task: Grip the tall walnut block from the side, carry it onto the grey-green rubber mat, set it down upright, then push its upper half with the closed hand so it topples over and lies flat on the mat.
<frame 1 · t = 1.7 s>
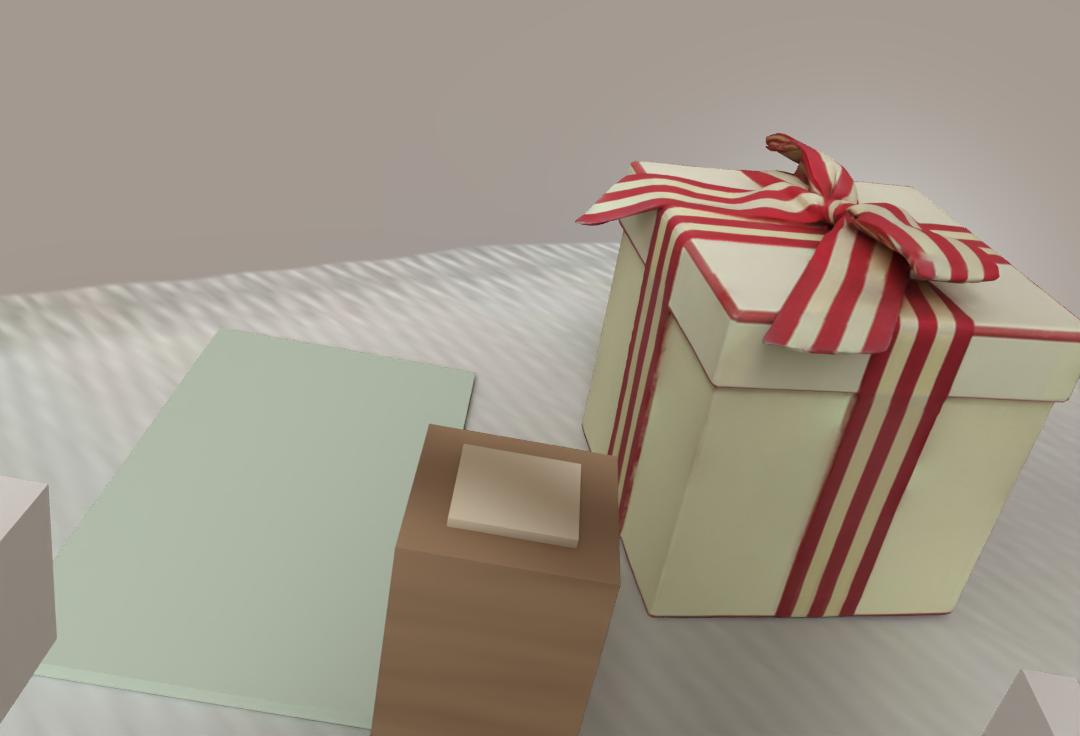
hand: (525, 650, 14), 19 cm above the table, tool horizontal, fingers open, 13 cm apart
gift box: (725, 527, 49), on the table
mat: (288, 490, 45), on the table
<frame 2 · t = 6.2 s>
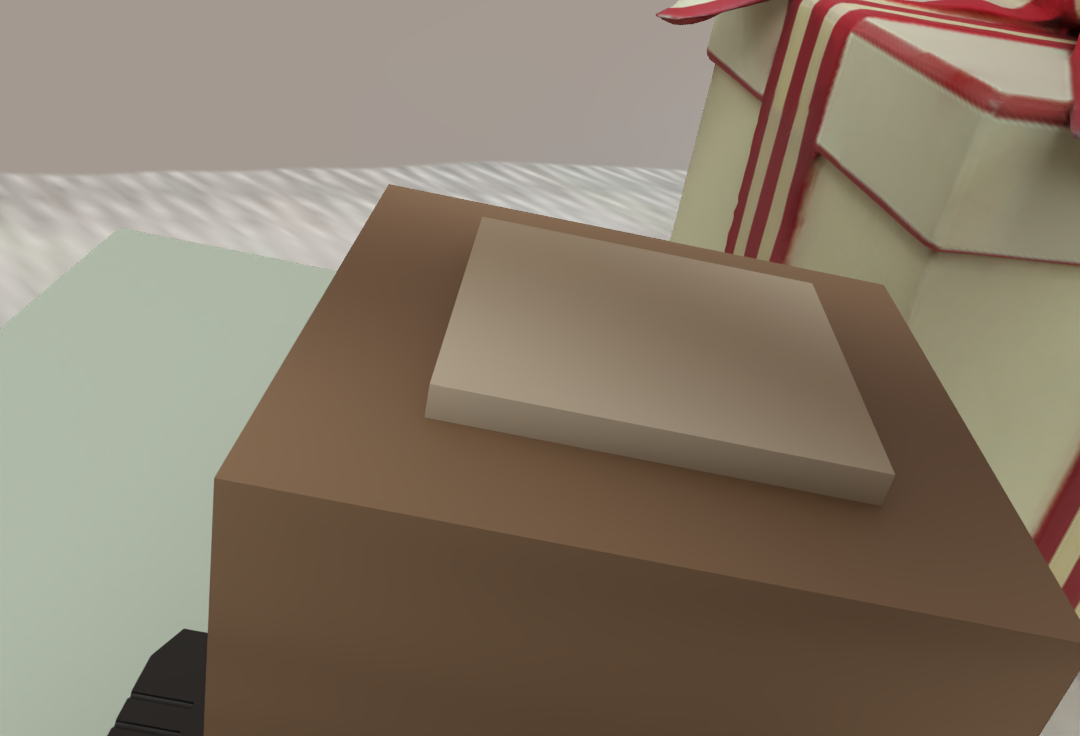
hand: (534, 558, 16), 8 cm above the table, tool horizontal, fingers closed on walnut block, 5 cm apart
gift box: (860, 524, 32), on the table
mat: (187, 450, 28), on the table
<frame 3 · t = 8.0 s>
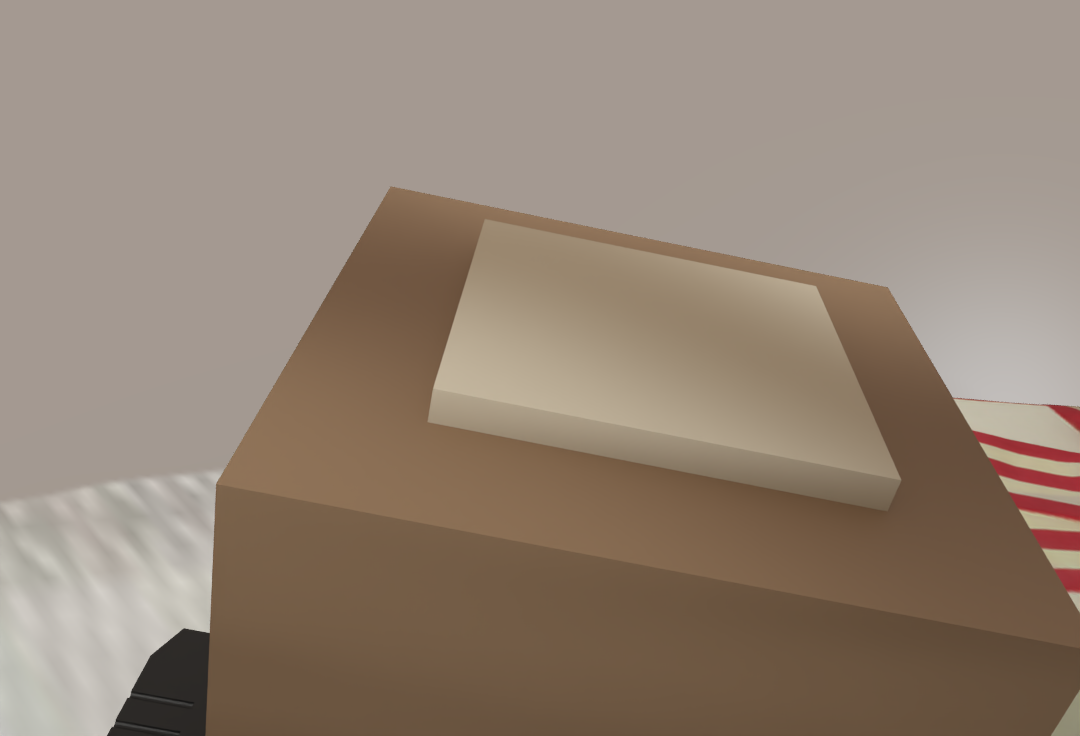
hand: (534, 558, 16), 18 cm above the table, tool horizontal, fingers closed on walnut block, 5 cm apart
when the fingers open (9 cm above the table, at t = 10.2 s): walnut block drops 1 cm, resting on mat.
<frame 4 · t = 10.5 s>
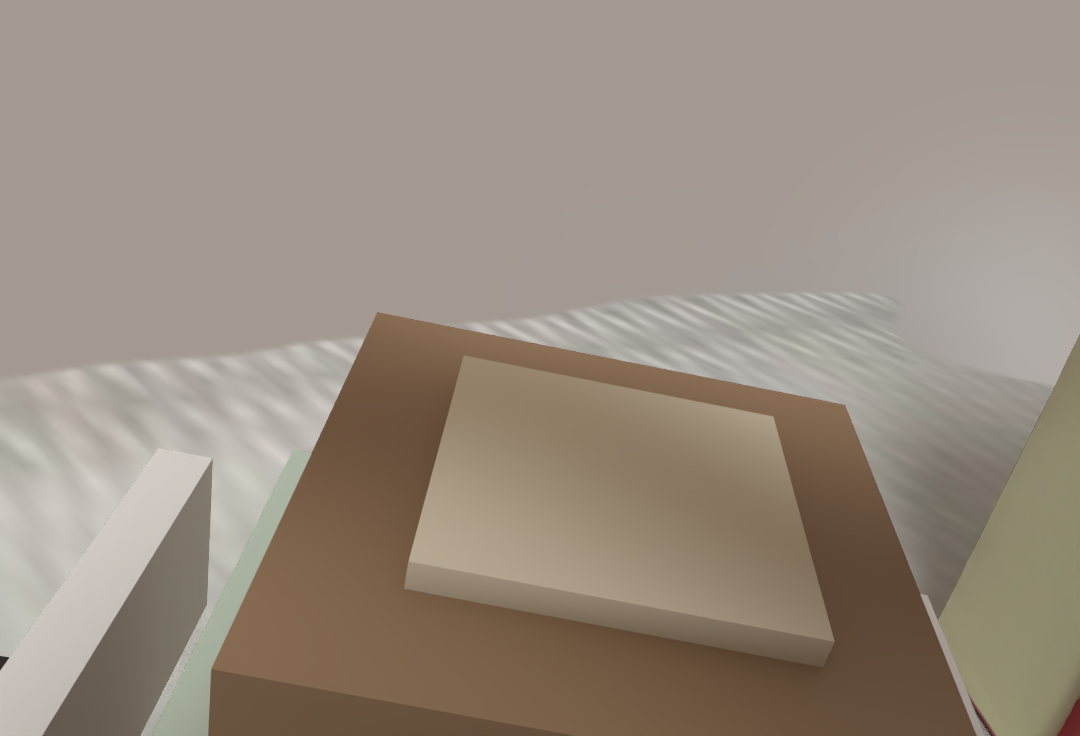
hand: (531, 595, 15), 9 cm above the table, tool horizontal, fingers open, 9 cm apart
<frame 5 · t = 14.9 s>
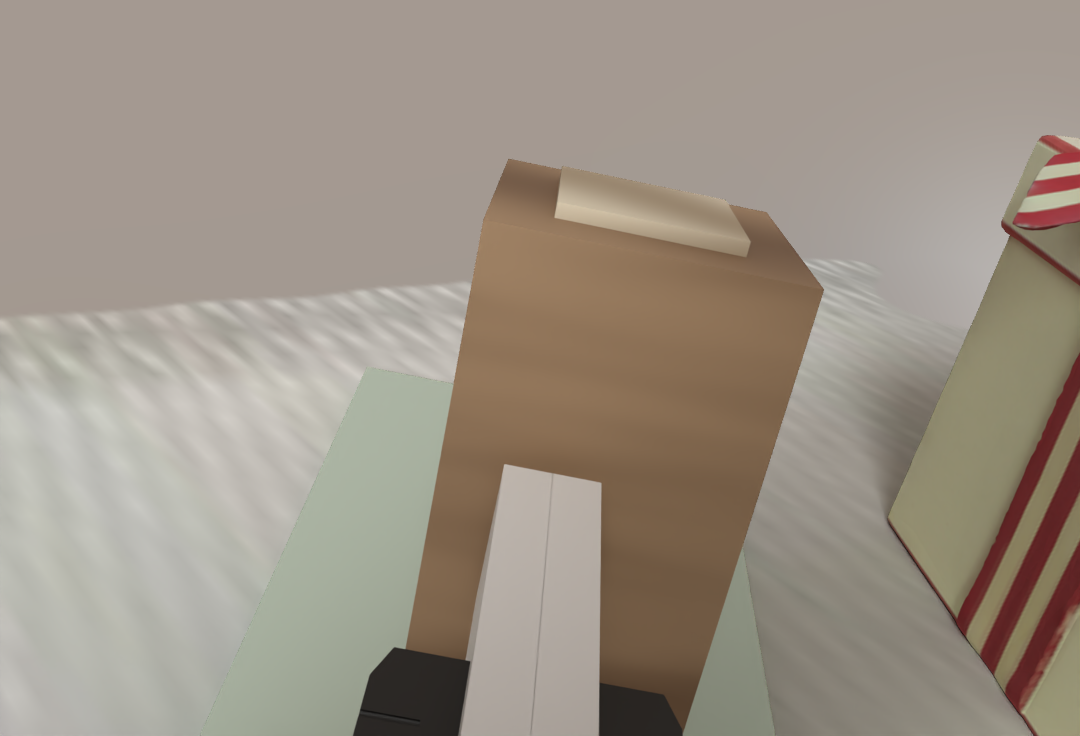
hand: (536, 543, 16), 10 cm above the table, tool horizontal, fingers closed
mat: (516, 635, 29), on the table
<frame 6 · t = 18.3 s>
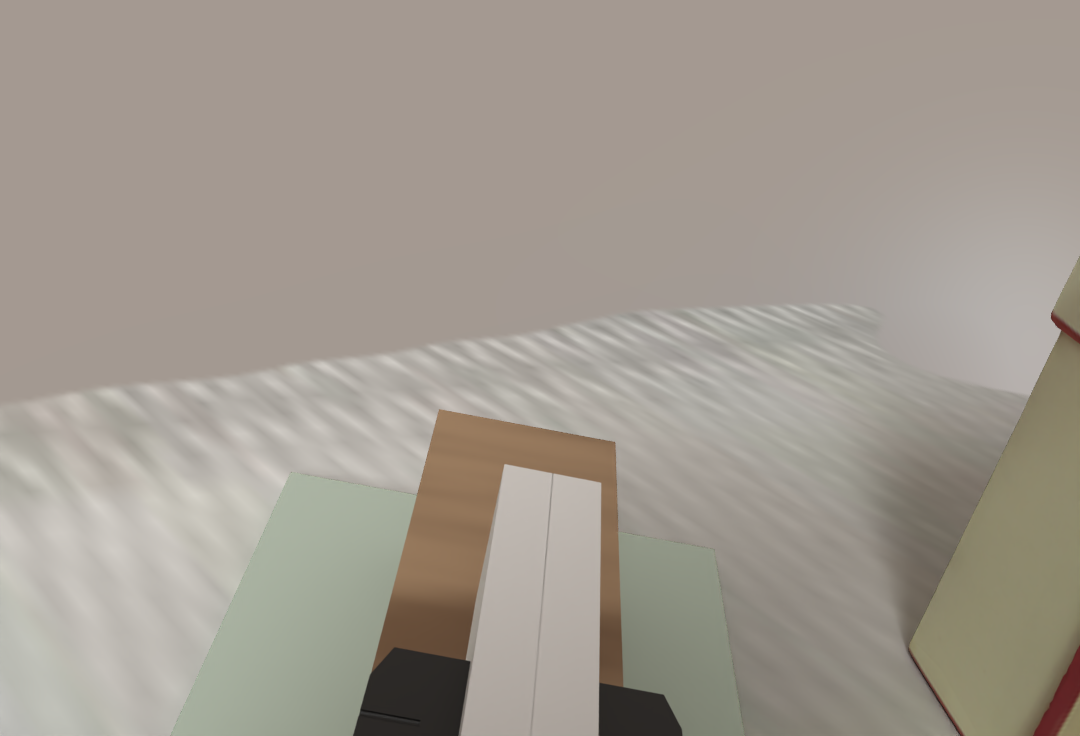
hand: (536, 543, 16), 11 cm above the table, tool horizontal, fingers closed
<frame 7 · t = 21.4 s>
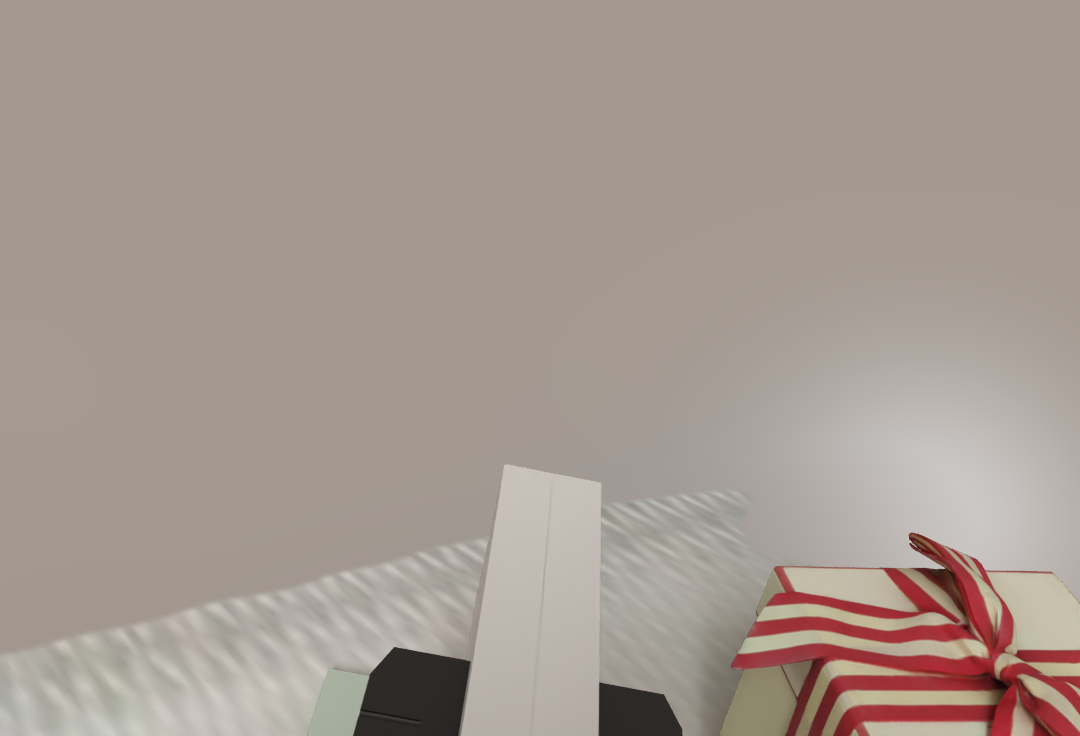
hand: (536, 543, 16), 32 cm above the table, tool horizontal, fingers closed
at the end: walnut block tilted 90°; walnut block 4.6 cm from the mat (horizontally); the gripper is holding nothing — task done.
